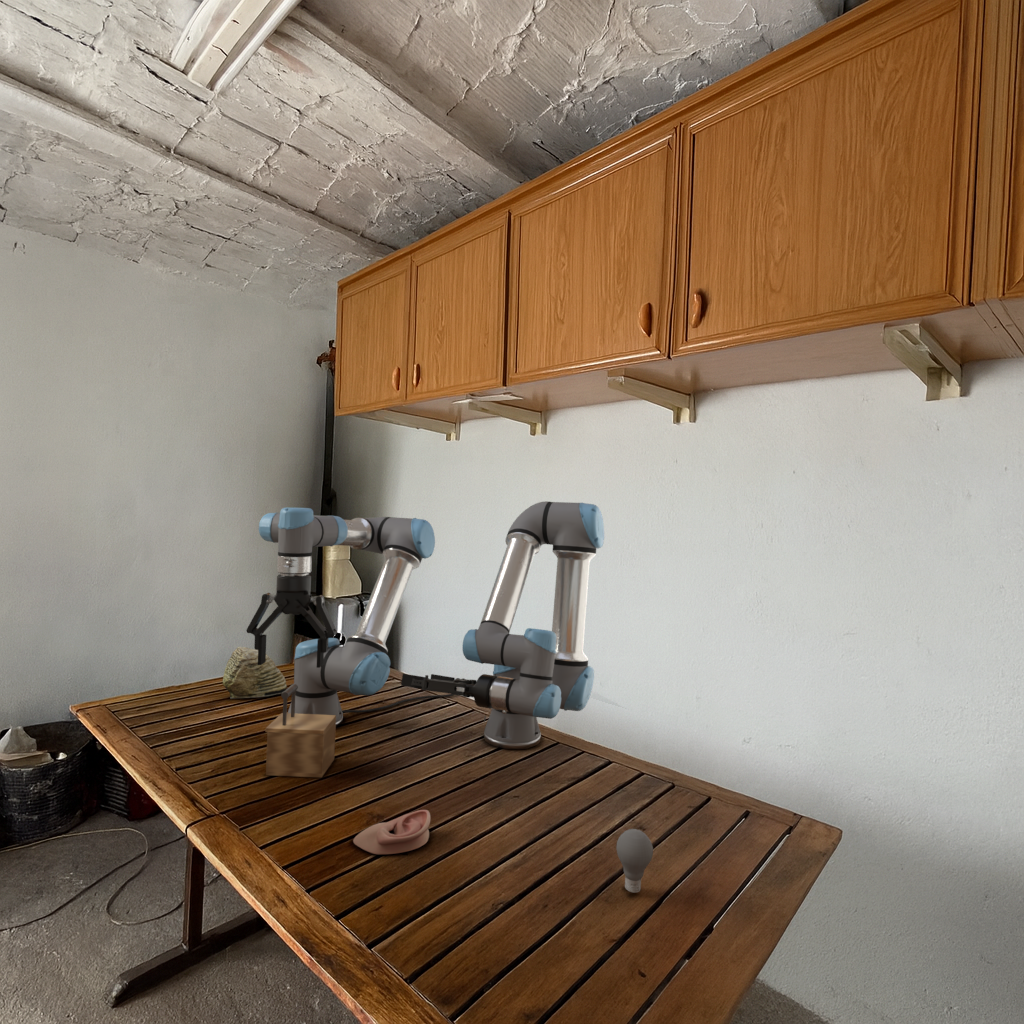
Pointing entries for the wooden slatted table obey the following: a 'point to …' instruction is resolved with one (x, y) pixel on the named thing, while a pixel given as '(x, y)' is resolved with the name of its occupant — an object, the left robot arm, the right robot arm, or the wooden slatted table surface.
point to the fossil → (252, 675)
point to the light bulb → (634, 857)
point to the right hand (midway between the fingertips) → (417, 679)
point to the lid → (299, 719)
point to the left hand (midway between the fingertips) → (290, 665)
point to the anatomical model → (396, 834)
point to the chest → (300, 753)
